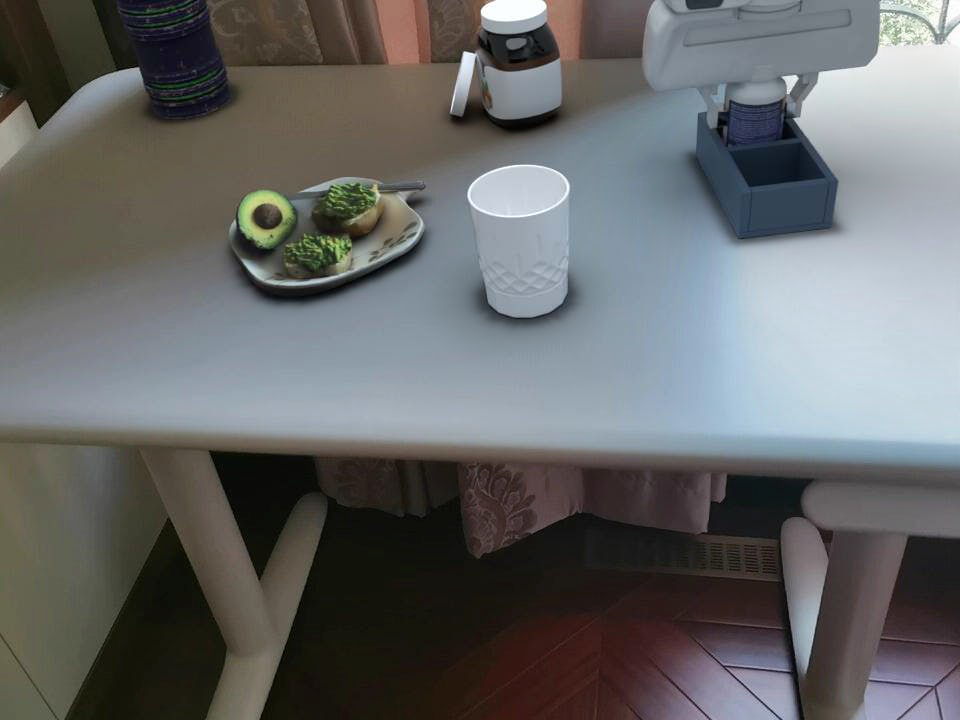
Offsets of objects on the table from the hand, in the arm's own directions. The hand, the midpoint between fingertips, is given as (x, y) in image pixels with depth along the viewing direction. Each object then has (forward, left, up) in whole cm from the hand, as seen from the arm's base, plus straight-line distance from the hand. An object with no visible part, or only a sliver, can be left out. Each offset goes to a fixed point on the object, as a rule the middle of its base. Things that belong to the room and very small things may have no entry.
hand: (752, 120), depth 88 cm
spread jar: (+22, -18, -5) cm, 29 cm away
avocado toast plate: (+41, +4, -5) cm, 42 cm away
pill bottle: (0, 0, -4) cm, 4 cm away
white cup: (+23, +16, -5) cm, 28 cm away
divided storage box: (0, +4, -5) cm, 6 cm away
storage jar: (+59, -32, -5) cm, 68 cm away
